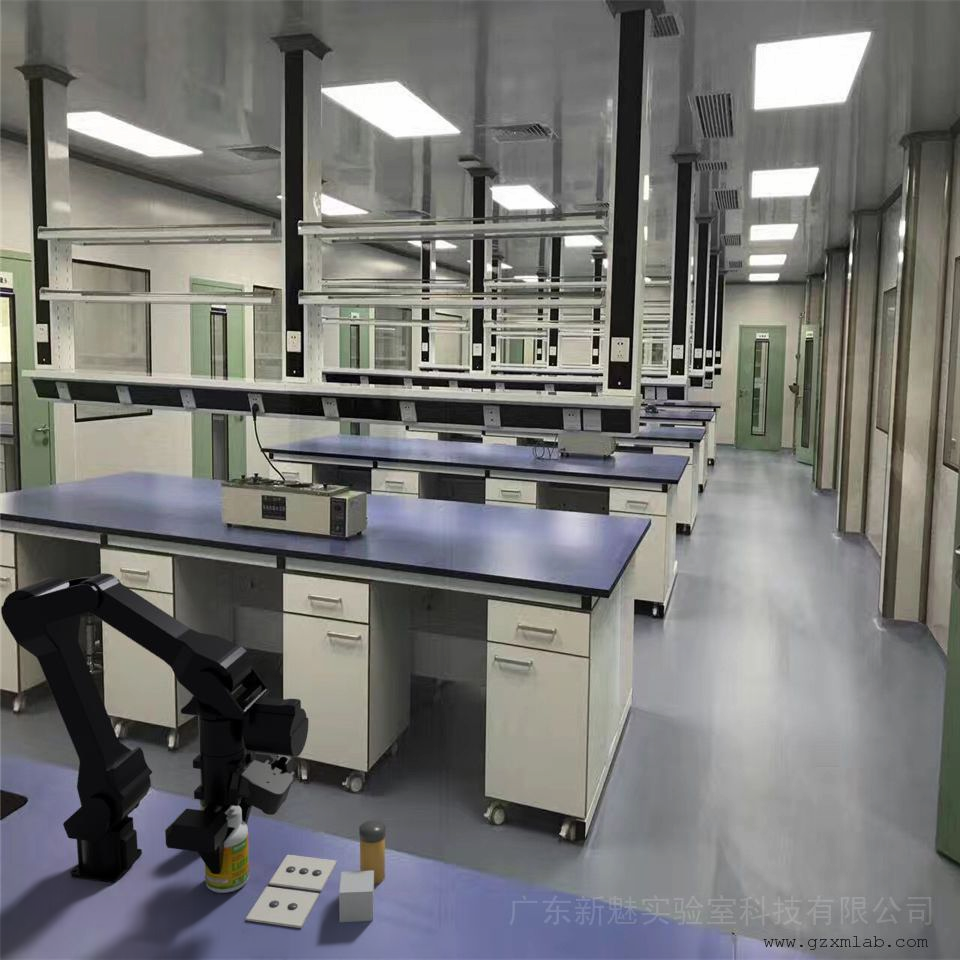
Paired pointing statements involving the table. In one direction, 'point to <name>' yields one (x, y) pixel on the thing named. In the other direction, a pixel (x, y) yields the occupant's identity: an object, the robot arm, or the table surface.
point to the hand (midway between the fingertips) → (226, 859)
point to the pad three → (303, 873)
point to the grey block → (356, 896)
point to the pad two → (283, 907)
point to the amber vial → (373, 848)
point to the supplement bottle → (232, 857)
